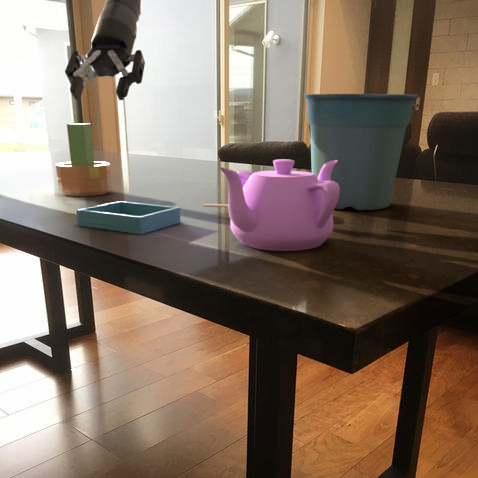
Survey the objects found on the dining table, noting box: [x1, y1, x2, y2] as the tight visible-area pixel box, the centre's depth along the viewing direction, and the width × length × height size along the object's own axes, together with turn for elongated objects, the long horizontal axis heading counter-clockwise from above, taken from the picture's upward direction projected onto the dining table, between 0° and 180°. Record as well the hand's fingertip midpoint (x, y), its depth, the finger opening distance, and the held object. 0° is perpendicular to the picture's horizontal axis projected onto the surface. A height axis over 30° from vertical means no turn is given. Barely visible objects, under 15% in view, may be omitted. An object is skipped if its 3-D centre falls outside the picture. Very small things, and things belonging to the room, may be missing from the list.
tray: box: [75, 200, 182, 235], centre depth 67 cm, size 10×8×2 cm
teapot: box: [218, 158, 340, 252], centre depth 57 cm, size 12×14×9 cm
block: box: [66, 122, 95, 166], centre depth 90 cm, size 3×3×11 cm
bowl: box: [55, 161, 113, 197], centre depth 92 cm, size 9×9×5 cm
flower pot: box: [303, 93, 419, 211], centre depth 79 cm, size 16×16×16 cm
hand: (97, 96), depth 95 cm, fingers open, 8 cm apart
